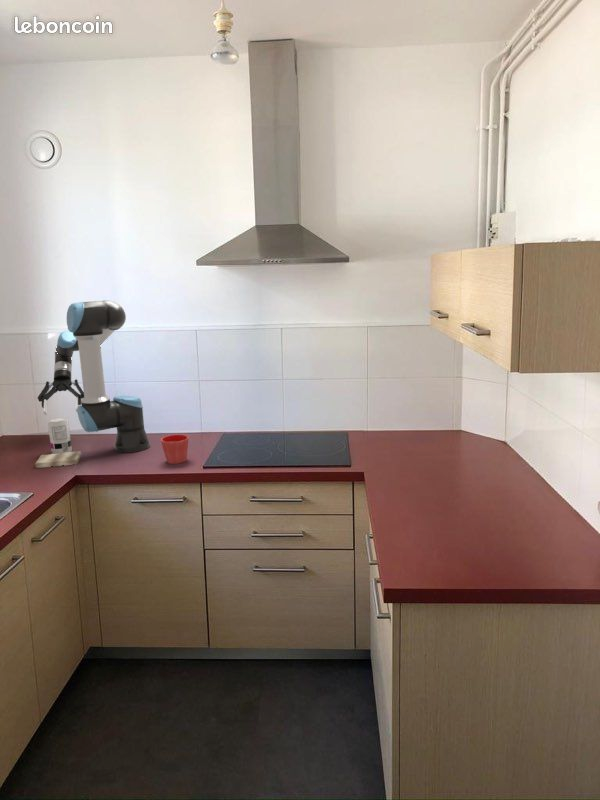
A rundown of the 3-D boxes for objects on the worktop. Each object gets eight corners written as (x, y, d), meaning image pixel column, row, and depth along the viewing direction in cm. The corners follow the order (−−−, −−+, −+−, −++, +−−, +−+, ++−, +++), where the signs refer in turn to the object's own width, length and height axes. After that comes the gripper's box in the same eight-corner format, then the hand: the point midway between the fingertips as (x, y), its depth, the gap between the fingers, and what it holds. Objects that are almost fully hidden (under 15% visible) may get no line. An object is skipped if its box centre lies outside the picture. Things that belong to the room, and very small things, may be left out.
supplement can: (47, 455, 268) (43, 421, 265) (61, 449, 275) (57, 417, 272) (62, 456, 265) (58, 422, 261) (76, 451, 272) (71, 418, 269)
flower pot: (182, 465, 246) (180, 442, 244) (158, 464, 249) (156, 441, 247) (194, 457, 255) (192, 434, 253) (171, 456, 259) (169, 433, 257)
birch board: (81, 455, 265) (80, 451, 264) (77, 464, 253) (76, 459, 253) (41, 459, 262) (41, 454, 261) (35, 468, 250) (35, 463, 250)
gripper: (92, 376, 293) (91, 414, 282) (36, 380, 288) (33, 418, 277) (89, 366, 287) (88, 405, 275) (32, 370, 282) (29, 409, 271)
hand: (61, 412), depth 276 cm, fingers open, 13 cm apart
